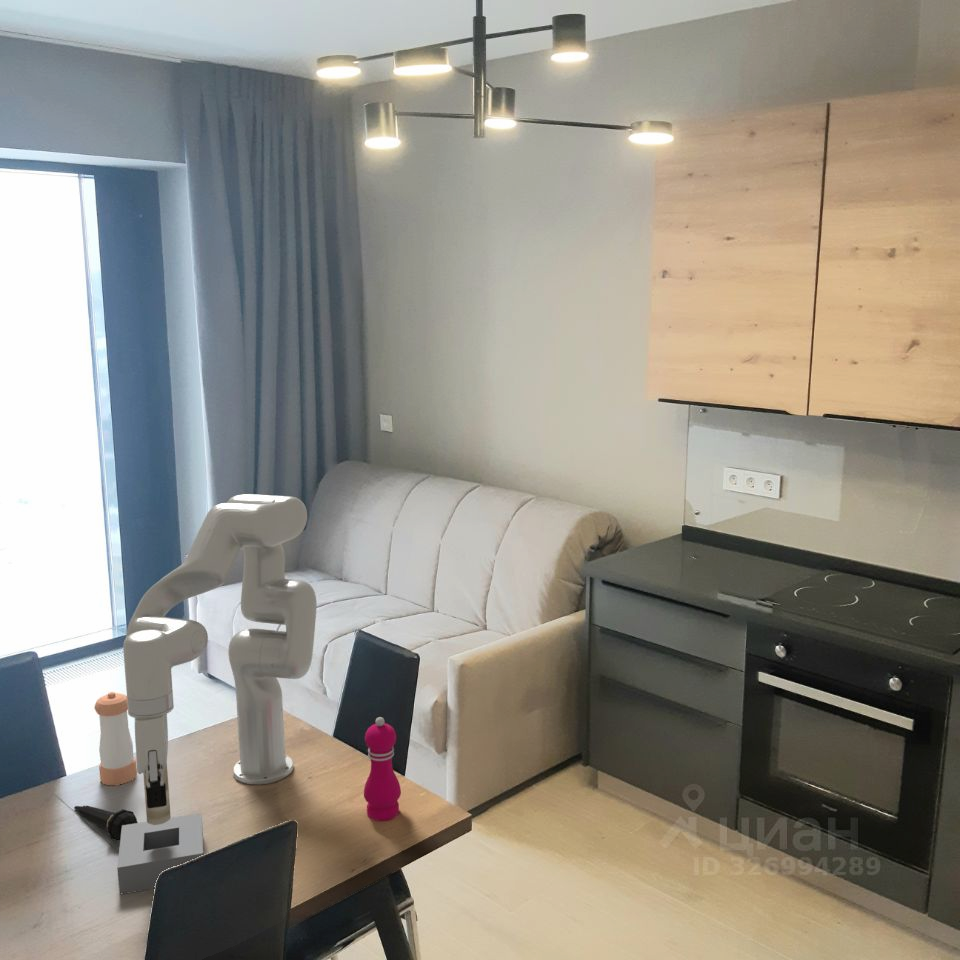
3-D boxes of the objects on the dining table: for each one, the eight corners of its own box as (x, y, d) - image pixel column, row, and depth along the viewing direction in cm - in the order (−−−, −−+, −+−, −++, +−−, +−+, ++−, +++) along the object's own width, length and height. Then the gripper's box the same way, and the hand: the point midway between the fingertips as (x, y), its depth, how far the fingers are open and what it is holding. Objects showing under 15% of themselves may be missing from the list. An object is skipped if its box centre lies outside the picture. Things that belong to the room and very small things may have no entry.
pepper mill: (395, 824, 183) (392, 726, 180) (359, 820, 185) (355, 724, 181) (405, 805, 190) (403, 711, 187) (371, 801, 192) (367, 708, 188)
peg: (147, 815, 170) (142, 752, 168) (170, 811, 171) (166, 749, 169) (146, 826, 167) (141, 762, 164) (170, 822, 168) (166, 758, 166)
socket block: (124, 850, 175) (122, 825, 175) (203, 837, 180) (201, 812, 179) (119, 894, 162) (117, 867, 161) (205, 879, 166) (203, 853, 165)
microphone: (70, 828, 189) (125, 850, 177) (57, 805, 187) (111, 827, 175) (93, 809, 193) (148, 829, 180) (80, 787, 191) (135, 806, 179)
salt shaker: (137, 781, 201) (130, 696, 197) (100, 788, 198) (93, 702, 195) (135, 766, 207) (129, 683, 204) (100, 773, 205) (92, 689, 201)
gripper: (129, 687, 172) (137, 781, 175) (124, 724, 156) (132, 827, 159) (173, 682, 174) (179, 775, 177) (172, 718, 158) (179, 820, 162)
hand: (157, 798), depth 168 cm, fingers closed on peg, 4 cm apart
